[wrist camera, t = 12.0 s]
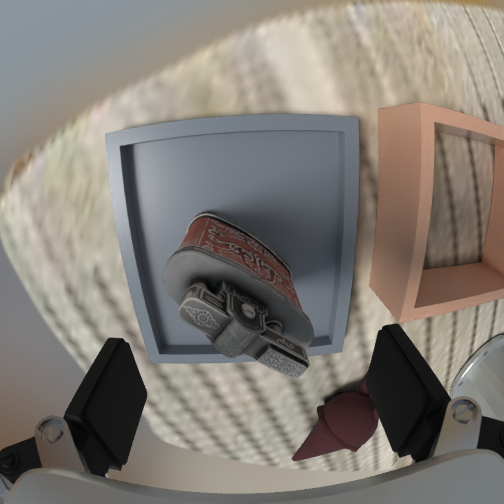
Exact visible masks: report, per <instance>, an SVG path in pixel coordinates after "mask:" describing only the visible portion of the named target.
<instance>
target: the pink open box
mask: <svg viewBox="0 0 504 504" xmlns="http://www.w3.org/2000/svg"><path fill="white" fill-rule="evenodd" d="M378 121H379V184H378V205H377V220H376V232H375V243H374V253H373V261H372V270H371V277H370V284H369V286H370V288H371V289H372V290H373V291H374V292H375V294H376V295H377V296H378V297H379V299H380V300H381V301H382V302H383V304H384V305H385V306H386V307H387V308H388V310H389V311H390V312H391V313H392V315H393V316H394V317H395V319H396V320H397V321H398V322H399V323H401V322H406V321H411V320H416V319H421V318H426V317H431V316H435V315H440V314H444V313H448V312H453V311H457V310H461V309H465V308H469V307H472V306H476V305H480V304H484V303H487V302H491V301H494V300H498V299H501V298H504V127H501V126H499V125H496V124H493V123H491V122H488V121H485V120H482V119H479V118H476V117H473V116H470V115H467V114H463V113H460V112H456V111H453V110H449V109H446V108H442V107H438V106H434V105H430V104H425V103H421V102H419V103H412V104H406V105H399V106H394V107H388V108H382V109H378ZM434 131H438V132H443V133H448V134H452V135H457V136H461V137H465V138H469V139H473V140H477V141H481V142H485V143H488V144H492V145H495V162H494V181H493V193H492V202H491V211H490V218H489V225H488V231H487V236H486V242H485V247H484V252H483V257H482V261H481V262H479V263H472V264H465V265H457V266H449V267H441V268H433V269H424V270H422V269H423V263H424V258H425V252H426V246H427V239H428V232H429V224H430V216H431V206H432V194H433V179H434Z"/></svg>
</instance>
